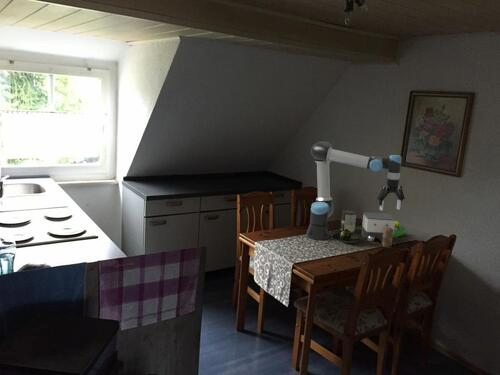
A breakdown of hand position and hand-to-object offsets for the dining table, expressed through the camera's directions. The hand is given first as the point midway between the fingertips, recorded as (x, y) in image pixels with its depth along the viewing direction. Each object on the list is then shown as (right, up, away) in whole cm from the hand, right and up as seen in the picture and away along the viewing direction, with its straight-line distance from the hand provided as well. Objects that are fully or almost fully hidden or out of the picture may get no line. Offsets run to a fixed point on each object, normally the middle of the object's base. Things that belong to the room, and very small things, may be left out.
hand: (389, 209), depth 281 cm
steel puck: (-11, -21, +7) cm, 25 cm away
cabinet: (-6, -21, +10) cm, 24 cm away
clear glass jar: (-22, -17, +28) cm, 39 cm away
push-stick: (-3, -23, +2) cm, 23 cm away
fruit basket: (+12, -20, +22) cm, 32 cm away
